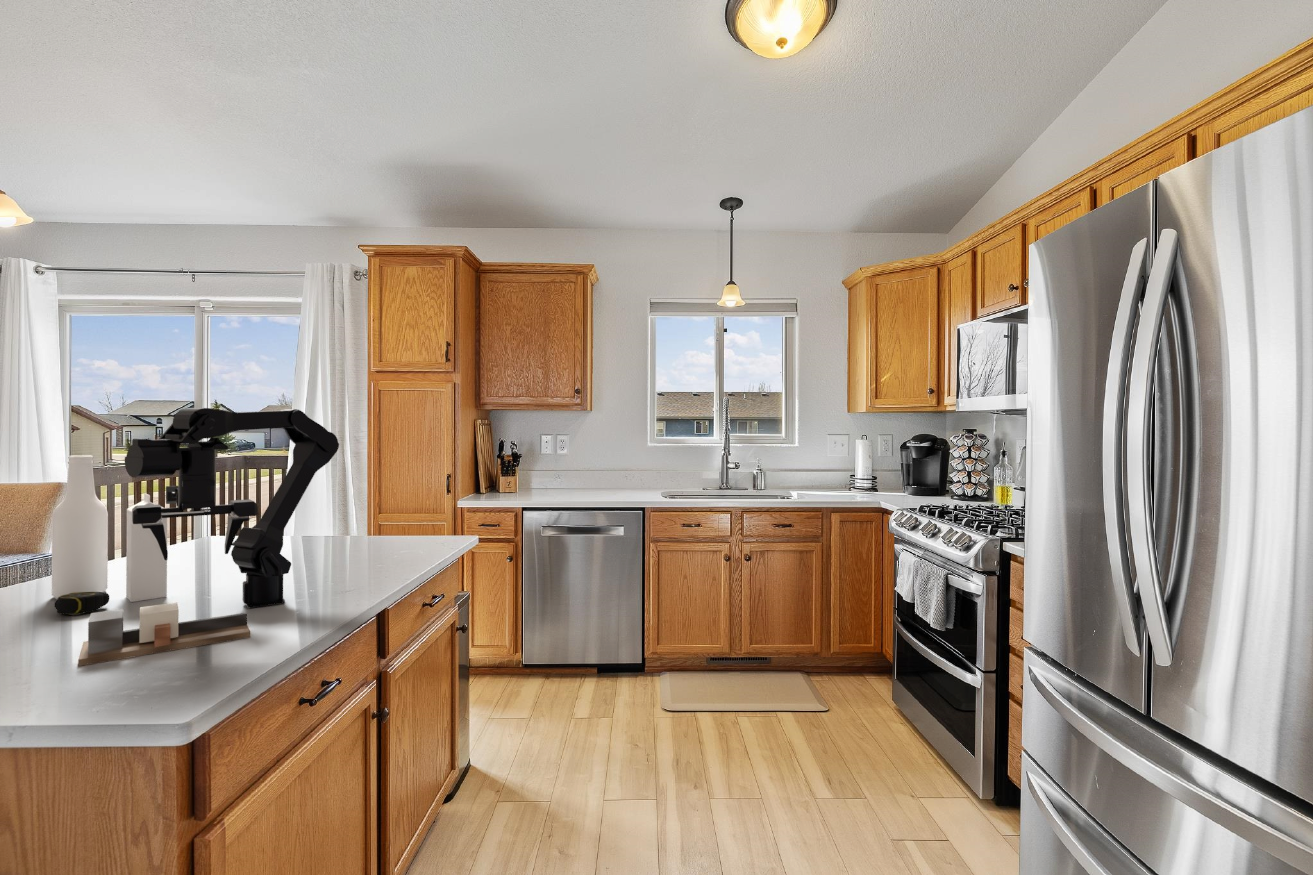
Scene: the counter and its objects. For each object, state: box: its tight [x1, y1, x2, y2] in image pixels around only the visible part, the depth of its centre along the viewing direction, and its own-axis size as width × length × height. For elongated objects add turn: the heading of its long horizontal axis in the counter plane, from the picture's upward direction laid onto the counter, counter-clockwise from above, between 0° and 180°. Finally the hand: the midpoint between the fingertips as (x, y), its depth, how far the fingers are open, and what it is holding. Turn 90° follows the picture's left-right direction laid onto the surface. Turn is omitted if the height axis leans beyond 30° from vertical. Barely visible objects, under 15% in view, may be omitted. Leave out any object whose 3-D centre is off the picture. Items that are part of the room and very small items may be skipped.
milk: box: [125, 493, 168, 603], centre depth 132 cm, size 6×6×22 cm
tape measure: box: [53, 592, 110, 616], centre depth 121 cm, size 7×7×4 cm
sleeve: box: [139, 602, 180, 643], centre depth 104 cm, size 5×5×5 cm
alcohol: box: [51, 454, 109, 600], centre depth 133 cm, size 9×9×30 cm
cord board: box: [77, 608, 251, 667], centre depth 105 cm, size 22×10×6 cm, turn 130°
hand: (196, 556), depth 117 cm, fingers open, 9 cm apart
